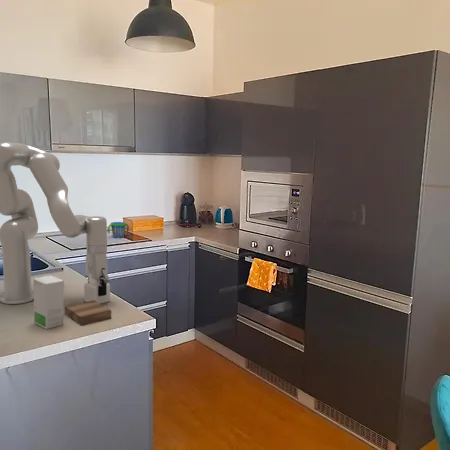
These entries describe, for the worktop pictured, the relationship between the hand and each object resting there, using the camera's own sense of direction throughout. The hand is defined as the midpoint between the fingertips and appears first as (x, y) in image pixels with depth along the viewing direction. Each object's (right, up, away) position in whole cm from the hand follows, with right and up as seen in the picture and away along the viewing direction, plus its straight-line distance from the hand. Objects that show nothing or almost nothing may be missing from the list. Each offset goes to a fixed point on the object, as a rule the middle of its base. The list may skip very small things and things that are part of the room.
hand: (97, 292), depth 168 cm
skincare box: (-9, -7, -23) cm, 26 cm away
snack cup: (-25, +18, +134) cm, 137 cm away
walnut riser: (+1, -6, -16) cm, 17 cm away
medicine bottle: (0, -4, +1) cm, 4 cm away
